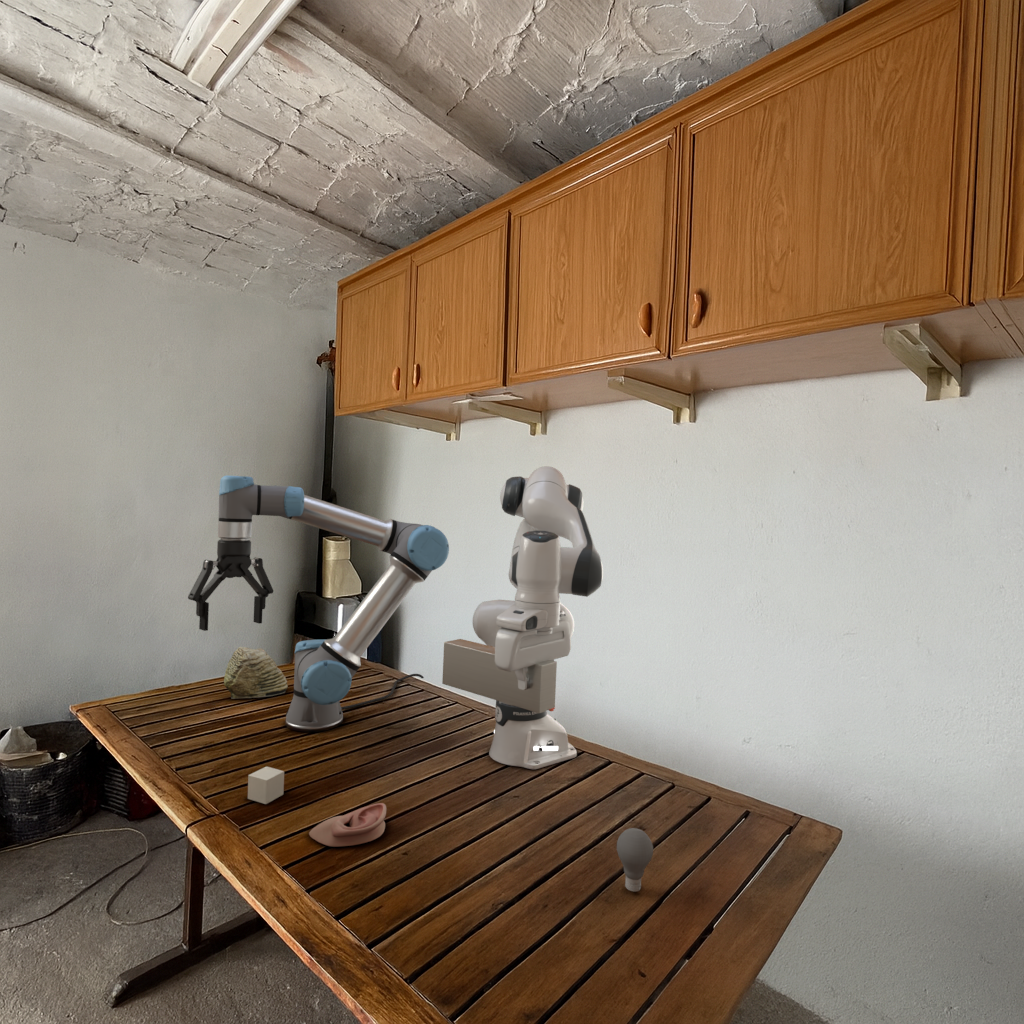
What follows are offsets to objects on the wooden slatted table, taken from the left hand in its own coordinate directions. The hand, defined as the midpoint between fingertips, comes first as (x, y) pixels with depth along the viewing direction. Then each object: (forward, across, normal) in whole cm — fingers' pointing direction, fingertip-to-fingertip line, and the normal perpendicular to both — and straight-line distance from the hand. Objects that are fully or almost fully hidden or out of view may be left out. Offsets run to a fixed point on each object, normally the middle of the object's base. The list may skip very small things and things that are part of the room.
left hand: (231, 626), depth 154 cm
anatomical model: (+31, +3, +52) cm, 60 cm away
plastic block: (+31, +6, +28) cm, 42 cm away
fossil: (+31, -27, -35) cm, 54 cm away
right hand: (+2, -21, +76) cm, 79 cm away
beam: (+6, -21, +67) cm, 70 cm away
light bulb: (+31, -18, +101) cm, 107 cm away
